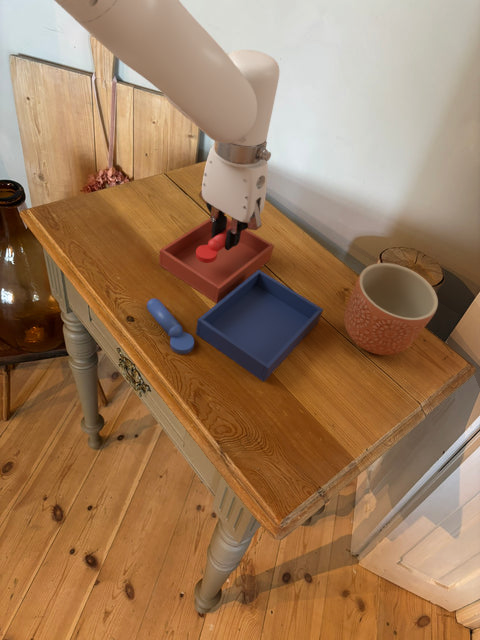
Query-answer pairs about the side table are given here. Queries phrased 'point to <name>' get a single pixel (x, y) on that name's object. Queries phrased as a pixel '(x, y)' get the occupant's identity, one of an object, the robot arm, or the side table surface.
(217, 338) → the blue bin
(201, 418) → the side table surface
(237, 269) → the red bin
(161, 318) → the blue spoon
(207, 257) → the red spoon
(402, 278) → the planter
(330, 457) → the side table surface
